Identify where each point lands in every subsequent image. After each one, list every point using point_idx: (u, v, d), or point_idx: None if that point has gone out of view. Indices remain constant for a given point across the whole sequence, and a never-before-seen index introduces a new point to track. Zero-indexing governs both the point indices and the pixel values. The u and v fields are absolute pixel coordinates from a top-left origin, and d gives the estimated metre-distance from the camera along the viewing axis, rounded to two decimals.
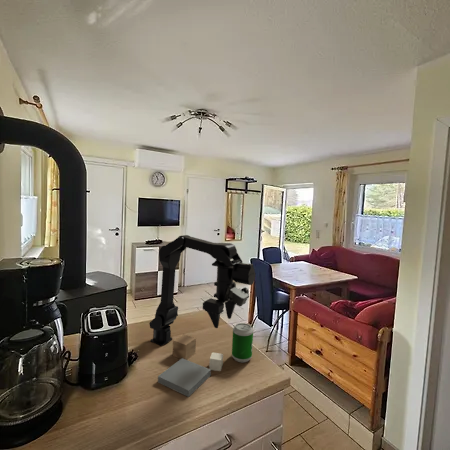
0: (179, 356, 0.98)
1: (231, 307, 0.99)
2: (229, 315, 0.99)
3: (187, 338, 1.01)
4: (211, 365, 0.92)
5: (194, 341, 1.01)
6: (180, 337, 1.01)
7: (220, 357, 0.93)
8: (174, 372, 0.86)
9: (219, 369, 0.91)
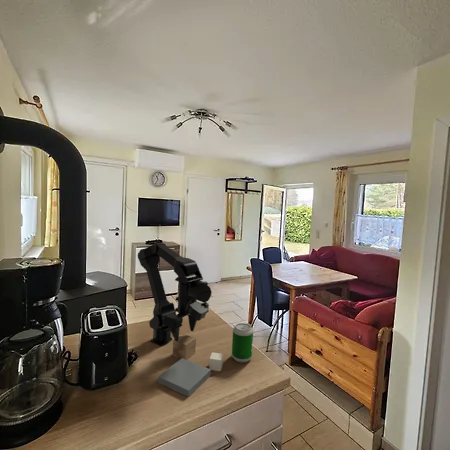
0: (179, 356, 0.98)
1: (193, 320, 1.04)
2: (192, 328, 1.04)
3: (187, 337, 1.01)
4: (211, 365, 0.92)
5: (194, 341, 1.01)
6: (180, 337, 1.01)
7: (220, 357, 0.93)
8: (174, 372, 0.86)
9: (219, 369, 0.91)
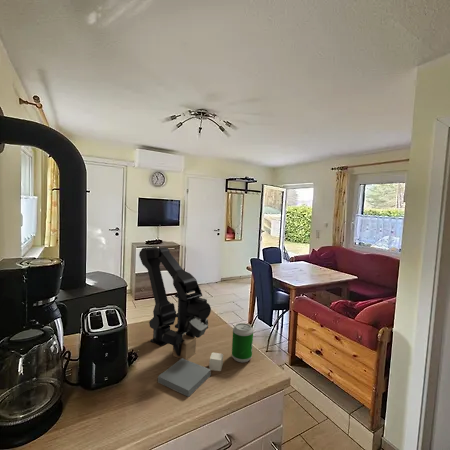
0: (179, 356, 0.98)
1: None
2: None
3: (187, 337, 1.01)
4: (211, 365, 0.92)
5: (195, 341, 1.01)
6: None
7: (220, 357, 0.93)
8: (174, 372, 0.86)
9: (219, 369, 0.91)
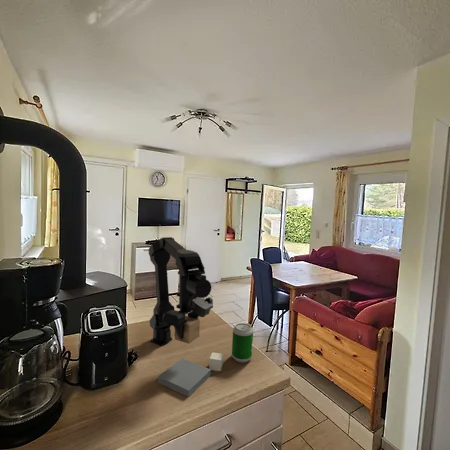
0: (182, 339, 0.89)
1: None
2: None
3: (190, 319, 0.92)
4: (211, 365, 0.92)
5: (198, 323, 0.92)
6: None
7: (220, 357, 0.93)
8: (174, 372, 0.86)
9: (219, 369, 0.91)
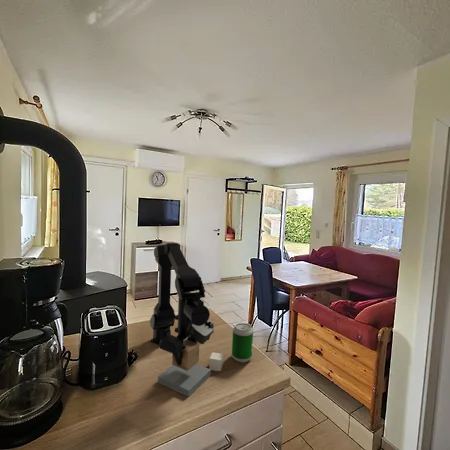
0: (180, 365, 0.83)
1: None
2: None
3: (189, 343, 0.87)
4: (211, 365, 0.92)
5: (198, 347, 0.86)
6: None
7: (220, 357, 0.93)
8: (174, 372, 0.86)
9: (219, 369, 0.91)
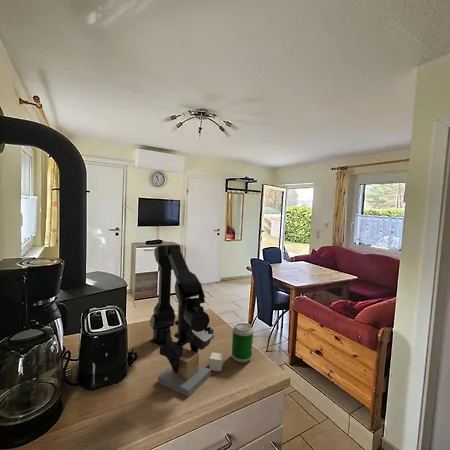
0: (179, 375, 0.84)
1: (196, 346, 0.90)
2: None
3: (189, 353, 0.87)
4: (211, 365, 0.92)
5: (197, 357, 0.87)
6: None
7: (220, 357, 0.93)
8: None
9: (219, 369, 0.91)
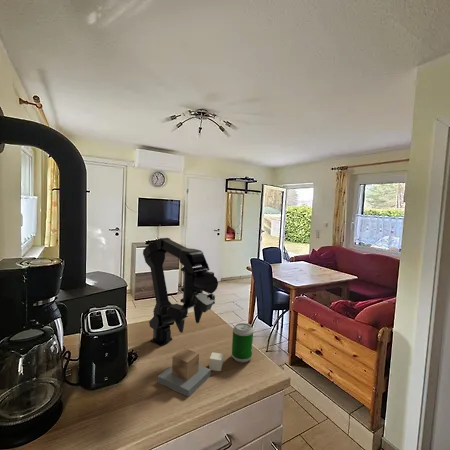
0: (179, 375, 0.84)
1: (199, 312, 1.01)
2: (197, 320, 1.01)
3: (189, 353, 0.87)
4: (211, 365, 0.92)
5: (197, 357, 0.87)
6: (181, 352, 0.87)
7: (220, 357, 0.93)
8: None
9: (219, 369, 0.91)
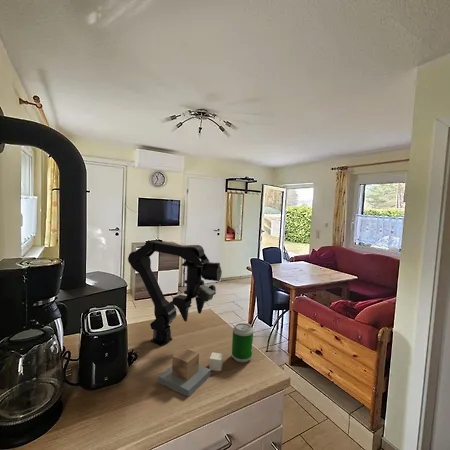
0: (179, 375, 0.84)
1: (201, 303, 1.09)
2: (199, 310, 1.09)
3: (189, 353, 0.87)
4: (211, 365, 0.92)
5: (197, 357, 0.87)
6: (181, 352, 0.87)
7: (220, 357, 0.93)
8: None
9: (219, 369, 0.91)
